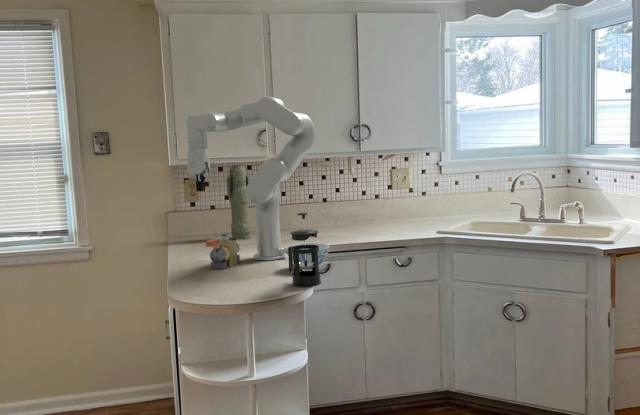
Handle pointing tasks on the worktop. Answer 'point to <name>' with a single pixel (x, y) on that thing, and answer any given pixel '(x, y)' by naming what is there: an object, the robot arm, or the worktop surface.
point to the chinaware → (321, 254)
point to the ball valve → (225, 254)
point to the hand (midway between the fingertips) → (200, 191)
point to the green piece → (238, 201)
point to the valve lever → (217, 240)
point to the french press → (305, 276)
